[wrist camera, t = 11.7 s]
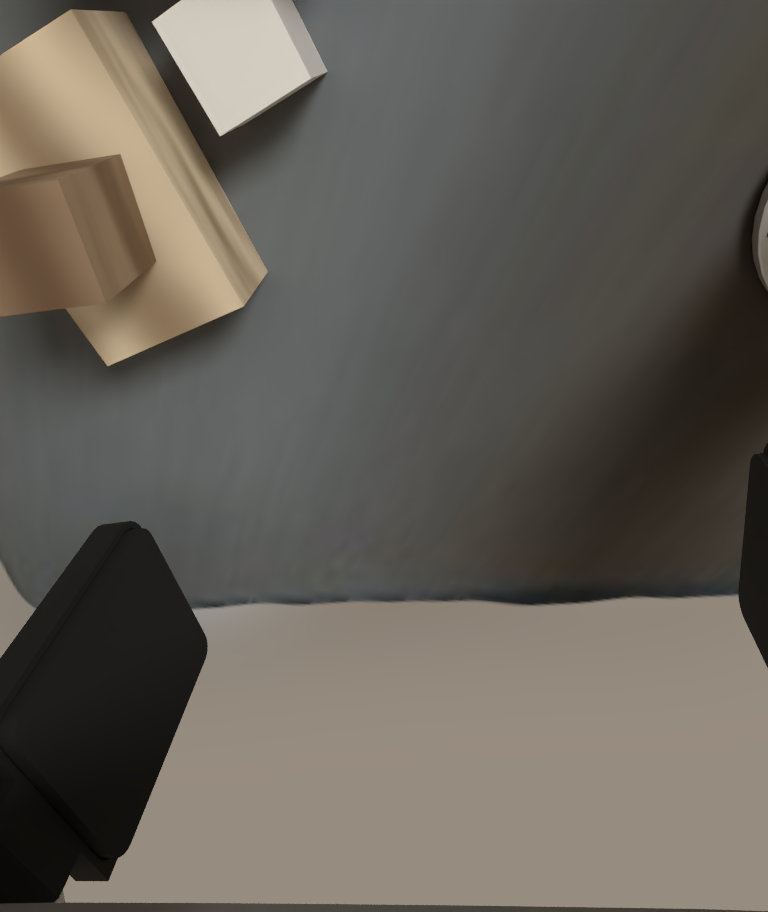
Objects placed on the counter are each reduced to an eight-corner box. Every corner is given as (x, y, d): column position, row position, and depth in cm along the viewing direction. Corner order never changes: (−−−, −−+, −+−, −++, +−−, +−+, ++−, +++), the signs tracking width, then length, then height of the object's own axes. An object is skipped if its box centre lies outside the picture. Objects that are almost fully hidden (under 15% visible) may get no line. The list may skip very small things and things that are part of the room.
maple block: (128, 12, 32) (70, 9, 27) (269, 270, 39) (243, 306, 34) (-6, 96, 35) (-82, 108, 30) (147, 325, 41) (107, 366, 36)
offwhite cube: (273, -38, 30) (246, -49, 26) (327, 71, 33) (311, 78, 28) (189, 22, 32) (151, 21, 28) (246, 123, 34) (220, 136, 30)
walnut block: (120, 153, 30) (57, 179, 25) (156, 261, 33) (106, 303, 28) (22, 169, 31) (-58, 197, 26) (65, 273, 33) (0, 316, 28)
